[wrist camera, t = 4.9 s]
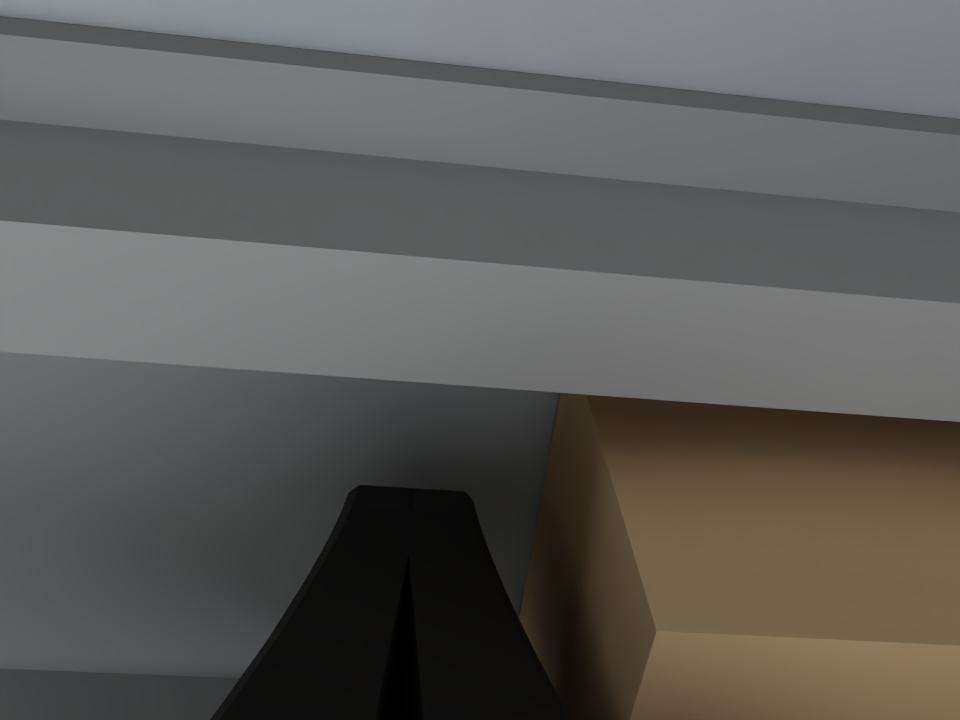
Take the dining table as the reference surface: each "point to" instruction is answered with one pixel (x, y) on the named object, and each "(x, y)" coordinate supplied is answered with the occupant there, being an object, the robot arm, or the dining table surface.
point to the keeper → (747, 563)
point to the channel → (392, 314)
